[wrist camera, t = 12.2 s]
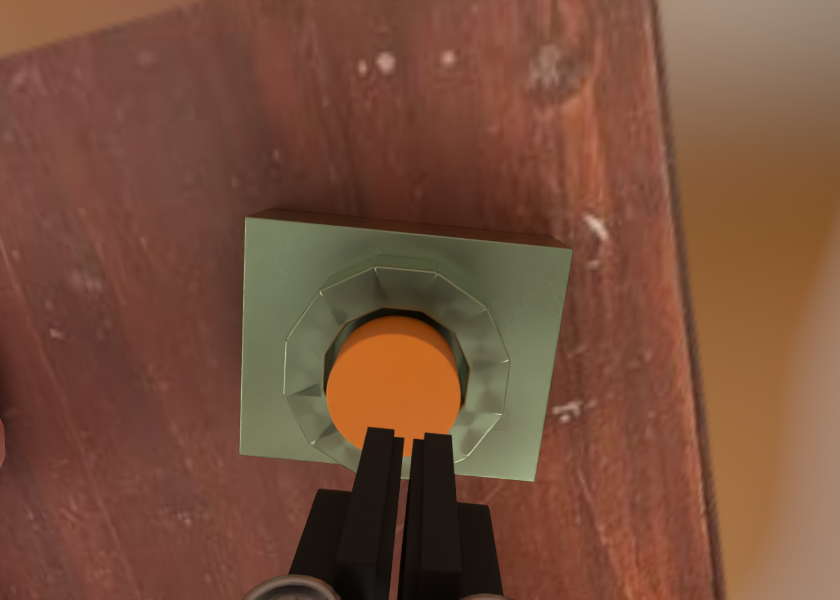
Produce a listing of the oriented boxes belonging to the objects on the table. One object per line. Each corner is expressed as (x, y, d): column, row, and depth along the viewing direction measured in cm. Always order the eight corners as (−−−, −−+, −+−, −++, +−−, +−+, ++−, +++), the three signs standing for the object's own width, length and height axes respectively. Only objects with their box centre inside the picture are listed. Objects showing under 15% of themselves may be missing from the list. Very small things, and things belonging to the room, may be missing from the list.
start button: (464, 321, 17) (468, 340, 15) (449, 434, 18) (452, 464, 16) (339, 309, 17) (330, 326, 15) (331, 423, 17) (321, 452, 16)
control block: (554, 236, 20) (590, 259, 16) (521, 443, 22) (546, 514, 18) (267, 208, 20) (224, 223, 16) (260, 419, 22) (220, 485, 18)
